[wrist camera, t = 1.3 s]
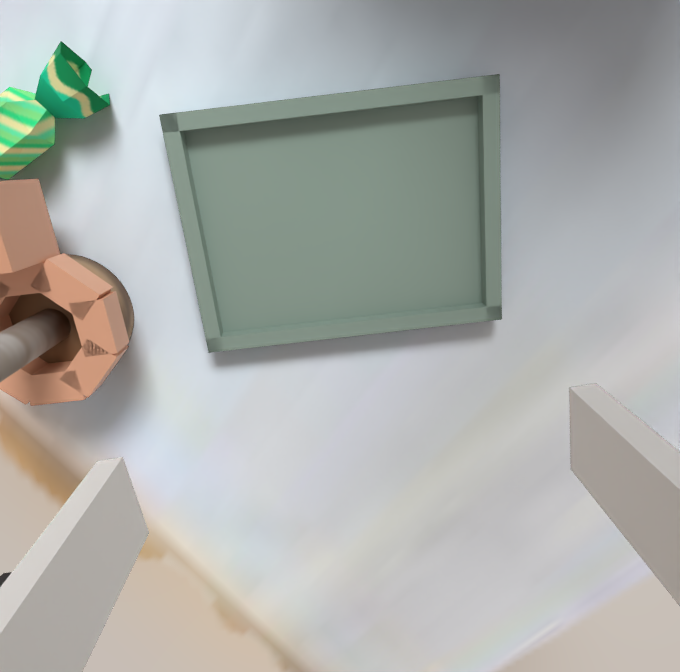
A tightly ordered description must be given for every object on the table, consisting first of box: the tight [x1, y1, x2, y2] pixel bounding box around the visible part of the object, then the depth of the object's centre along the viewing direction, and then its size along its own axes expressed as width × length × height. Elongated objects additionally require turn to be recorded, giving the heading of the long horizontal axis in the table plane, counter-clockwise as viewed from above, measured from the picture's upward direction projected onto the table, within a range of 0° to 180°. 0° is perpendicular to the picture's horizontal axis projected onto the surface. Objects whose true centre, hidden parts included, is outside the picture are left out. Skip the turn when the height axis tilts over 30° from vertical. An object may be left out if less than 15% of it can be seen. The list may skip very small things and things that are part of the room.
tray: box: [159, 74, 502, 353], centre depth 33 cm, size 20×15×2 cm
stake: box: [0, 254, 134, 382], centre depth 29 cm, size 8×8×14 cm
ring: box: [0, 179, 129, 406], centre depth 29 cm, size 9×13×5 cm
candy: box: [0, 42, 110, 180], centre depth 30 cm, size 12×3×4 cm
